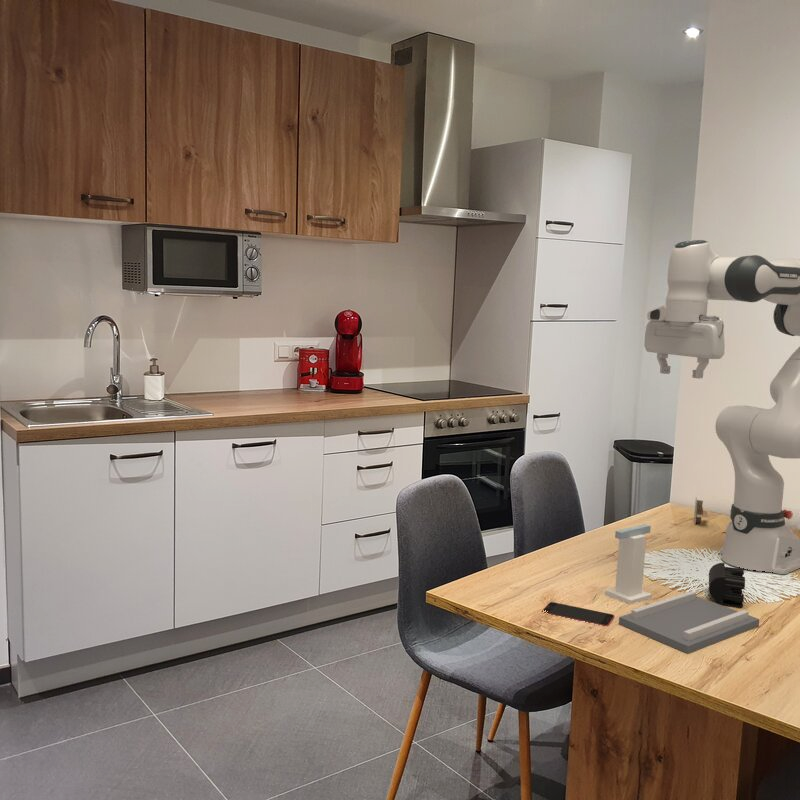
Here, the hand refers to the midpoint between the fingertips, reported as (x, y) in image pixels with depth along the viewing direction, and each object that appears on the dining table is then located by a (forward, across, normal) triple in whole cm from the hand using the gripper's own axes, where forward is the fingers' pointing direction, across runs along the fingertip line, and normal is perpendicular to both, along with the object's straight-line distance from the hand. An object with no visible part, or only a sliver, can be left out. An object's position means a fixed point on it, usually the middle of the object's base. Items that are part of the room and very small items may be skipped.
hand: (680, 375), depth 187 cm
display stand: (+48, -4, +15) cm, 51 cm away
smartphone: (+48, -7, +32) cm, 59 cm away
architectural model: (+49, +31, -46) cm, 74 cm away
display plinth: (+48, -21, +15) cm, 55 cm away
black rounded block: (+48, -14, -4) cm, 50 cm away
